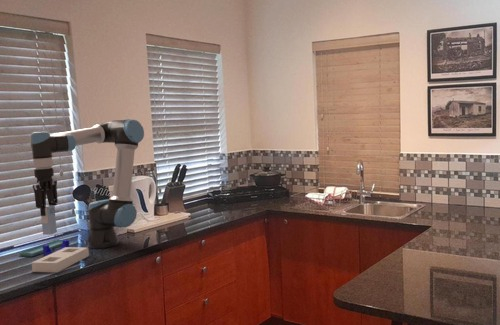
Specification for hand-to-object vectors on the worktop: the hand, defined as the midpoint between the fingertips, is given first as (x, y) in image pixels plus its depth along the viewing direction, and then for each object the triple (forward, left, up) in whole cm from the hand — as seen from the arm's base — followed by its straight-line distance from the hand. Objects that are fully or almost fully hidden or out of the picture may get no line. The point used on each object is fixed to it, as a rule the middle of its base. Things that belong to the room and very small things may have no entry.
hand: (48, 221), depth 210 cm
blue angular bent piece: (-23, -14, -22) cm, 35 cm away
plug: (0, 0, -5) cm, 5 cm away
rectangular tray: (-31, -27, -22) cm, 47 cm away
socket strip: (-6, 0, -21) cm, 22 cm away
